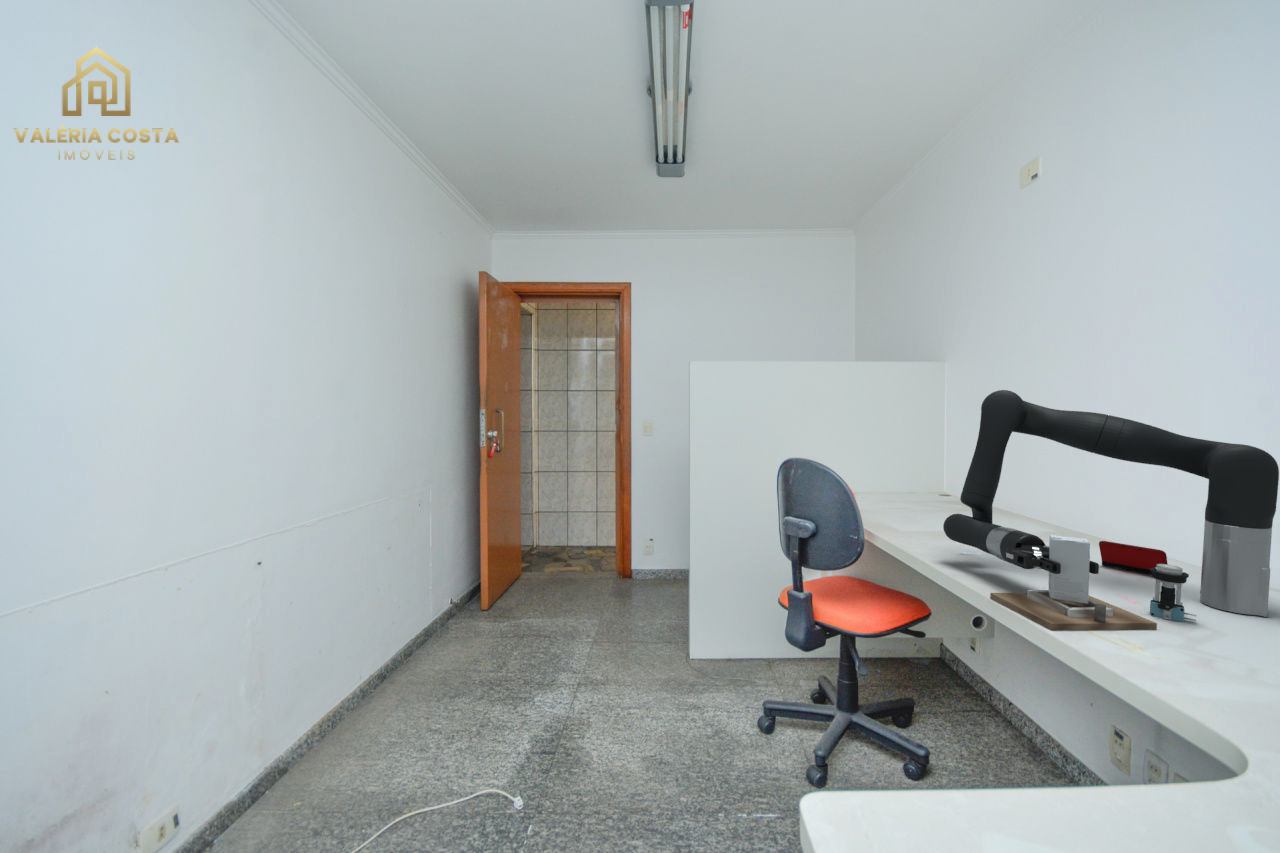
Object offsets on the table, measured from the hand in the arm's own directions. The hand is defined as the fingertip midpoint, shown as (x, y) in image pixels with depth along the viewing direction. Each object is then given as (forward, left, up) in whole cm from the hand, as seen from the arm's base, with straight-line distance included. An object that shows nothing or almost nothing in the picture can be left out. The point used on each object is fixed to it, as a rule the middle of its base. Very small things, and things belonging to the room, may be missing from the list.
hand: (1078, 569), depth 104 cm
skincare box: (+2, -1, -7) cm, 7 cm away
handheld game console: (-4, -50, -10) cm, 51 cm away
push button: (-13, -13, -10) cm, 21 cm away
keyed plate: (+1, -1, -9) cm, 10 cm away
